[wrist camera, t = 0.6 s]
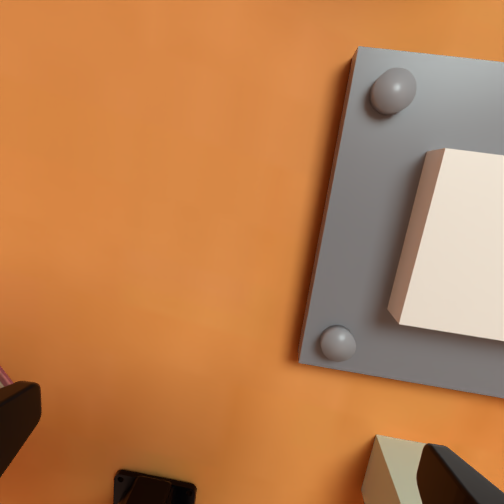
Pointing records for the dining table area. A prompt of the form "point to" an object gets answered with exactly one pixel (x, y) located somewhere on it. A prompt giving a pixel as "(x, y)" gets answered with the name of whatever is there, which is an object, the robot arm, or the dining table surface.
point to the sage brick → (392, 472)
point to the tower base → (384, 214)
